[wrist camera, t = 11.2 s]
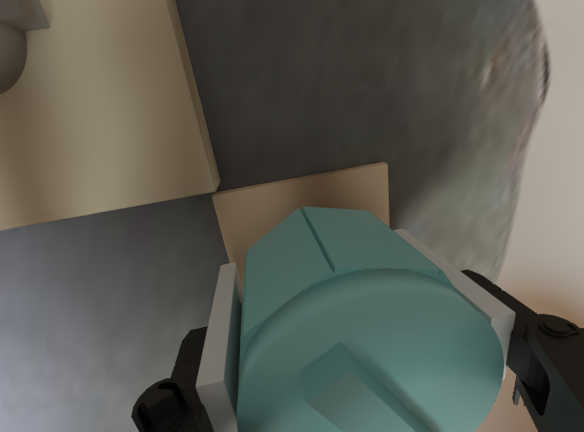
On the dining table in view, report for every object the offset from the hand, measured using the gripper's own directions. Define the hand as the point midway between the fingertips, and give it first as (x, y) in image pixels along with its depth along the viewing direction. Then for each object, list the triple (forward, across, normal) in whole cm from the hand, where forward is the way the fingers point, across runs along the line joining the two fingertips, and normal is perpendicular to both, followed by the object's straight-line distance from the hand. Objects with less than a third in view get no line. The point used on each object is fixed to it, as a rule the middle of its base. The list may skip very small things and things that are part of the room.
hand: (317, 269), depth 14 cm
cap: (-1, 0, 0) cm, 1 cm away
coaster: (+2, 0, 0) cm, 2 cm away
